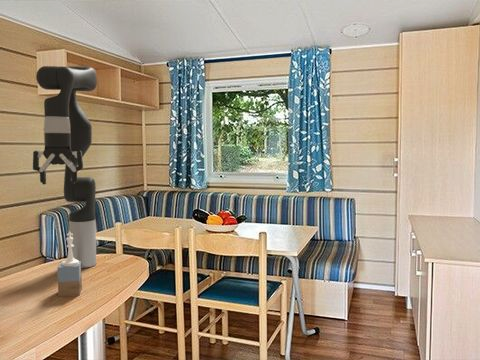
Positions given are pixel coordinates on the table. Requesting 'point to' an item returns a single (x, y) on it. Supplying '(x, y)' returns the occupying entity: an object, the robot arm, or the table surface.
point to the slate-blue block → (69, 272)
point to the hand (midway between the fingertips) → (59, 183)
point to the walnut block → (70, 288)
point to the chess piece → (70, 253)
